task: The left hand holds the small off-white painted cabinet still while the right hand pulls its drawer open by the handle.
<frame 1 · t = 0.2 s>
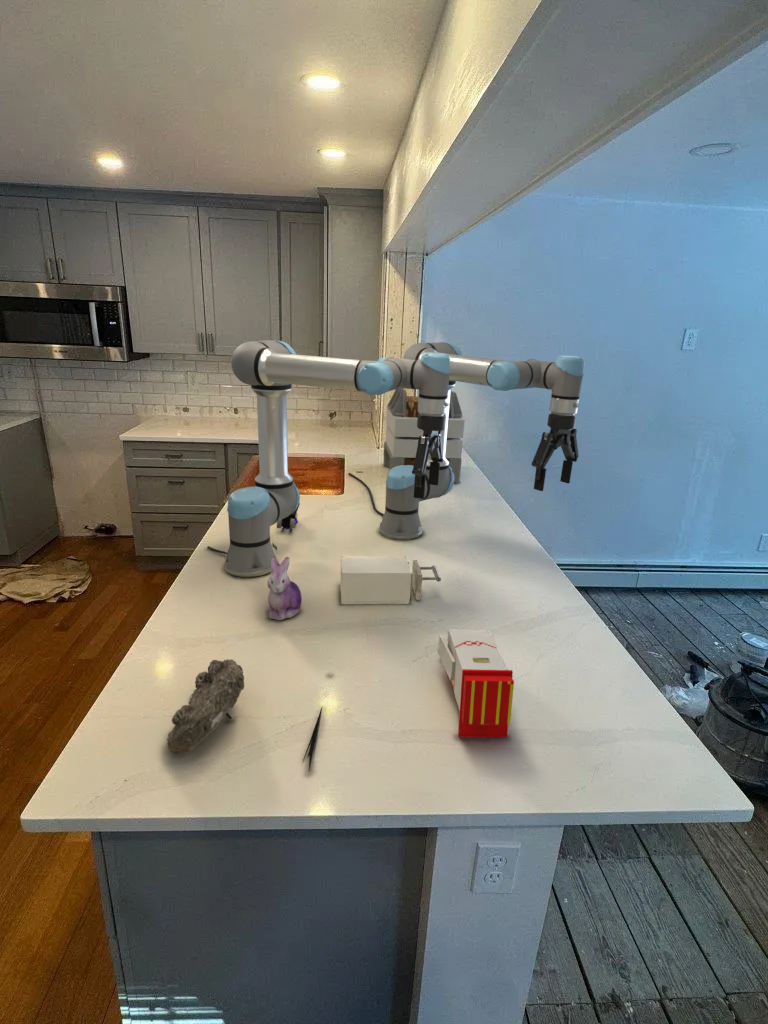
left hand: (426, 491, 156), 28 cm above the counter, tool pointing down, fingers open, 13 cm apart
right hand: (551, 486, 166), 28 cm above the counter, tool pointing down, fingers open, 13 cm apart
fossil: (212, 717, 108), on the counter
figurine: (284, 612, 146), on the counter
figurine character: (288, 527, 201), on the counter
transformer: (419, 473, 275), on the counter
cabinet: (374, 594, 157), on the counter
toy: (469, 691, 119), on the counter
feather: (319, 719, 109), on the counter
drawer: (397, 579, 156), point 5 cm above the counter, slide at 1.9 cm
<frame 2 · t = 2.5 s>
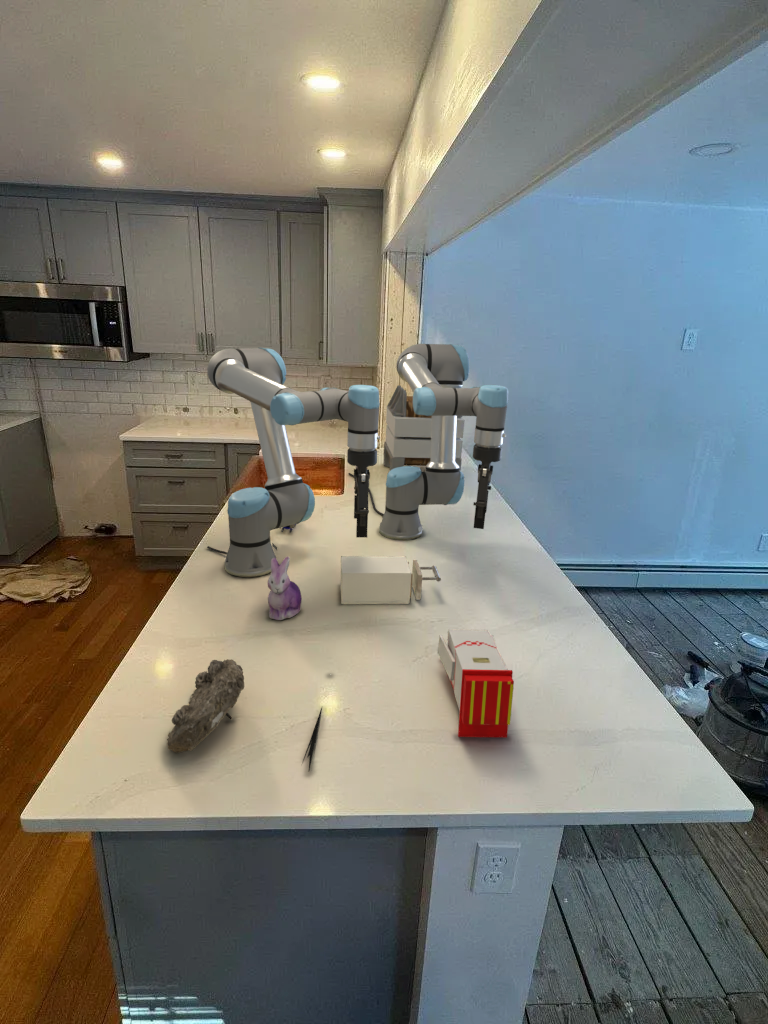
left hand: (360, 527, 150), 20 cm above the counter, tool pointing down, fingers open, 13 cm apart
right hand: (480, 519, 158), 20 cm above the counter, tool pointing down, fingers open, 13 cm apart
nothing on the counter moved.
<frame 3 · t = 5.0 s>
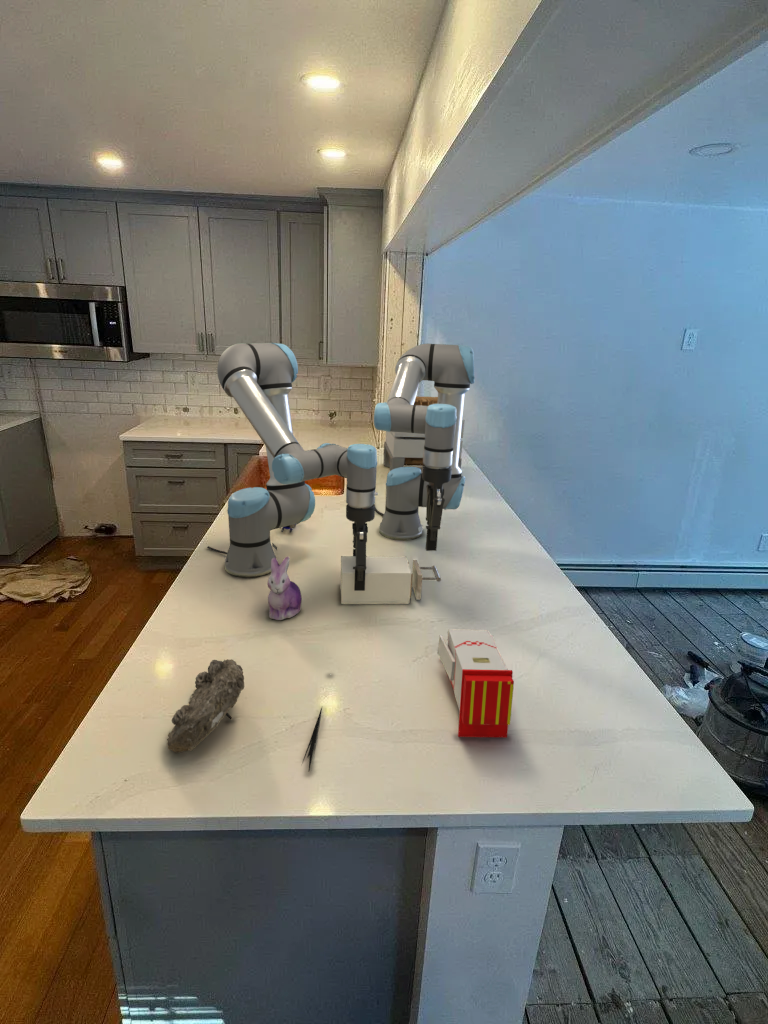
left hand: (358, 580, 155), 4 cm above the counter, tool pointing down, fingers closed on cabinet, 11 cm apart
right hand: (430, 549, 154), 14 cm above the counter, tool pointing down, fingers closed
cabinet: (374, 594, 157), on the counter, touching left hand
everything else where it was.
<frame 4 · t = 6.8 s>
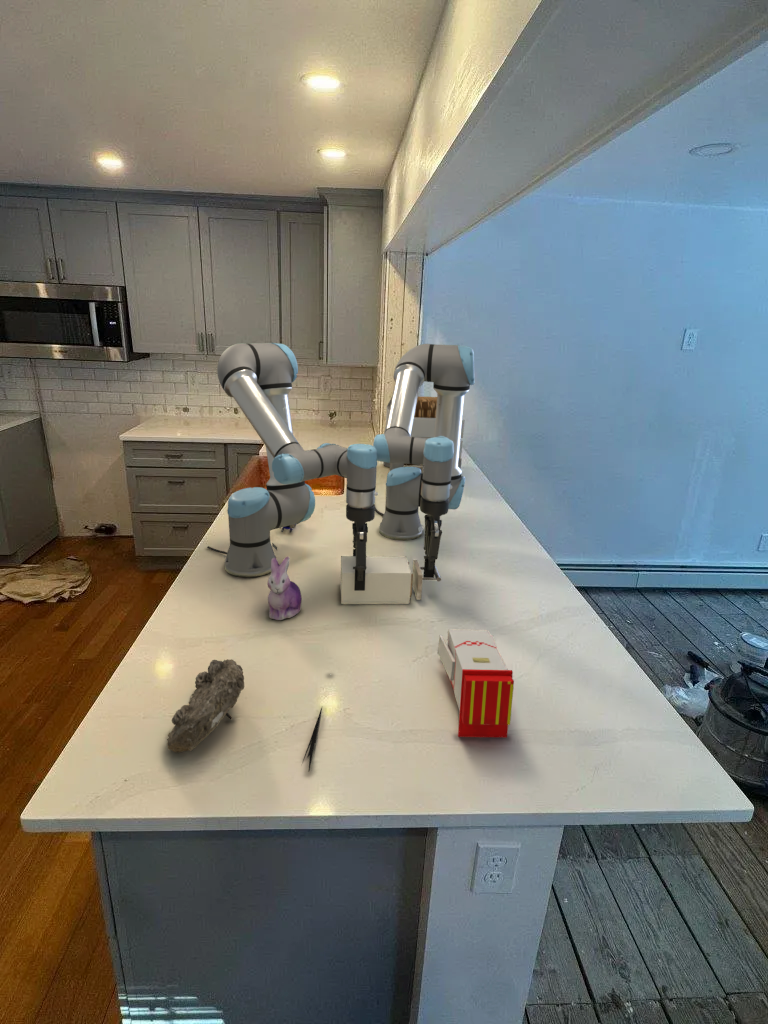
left hand: (358, 580, 155), 4 cm above the counter, tool pointing down, fingers closed on cabinet, 11 cm apart
right hand: (428, 578, 157), 5 cm above the counter, tool pointing down, fingers closed
cabinet: (373, 594, 157), on the counter, touching left hand
drawer: (397, 579, 156), point 5 cm above the counter, slide at 2.0 cm, touching right hand
everything else where it was.
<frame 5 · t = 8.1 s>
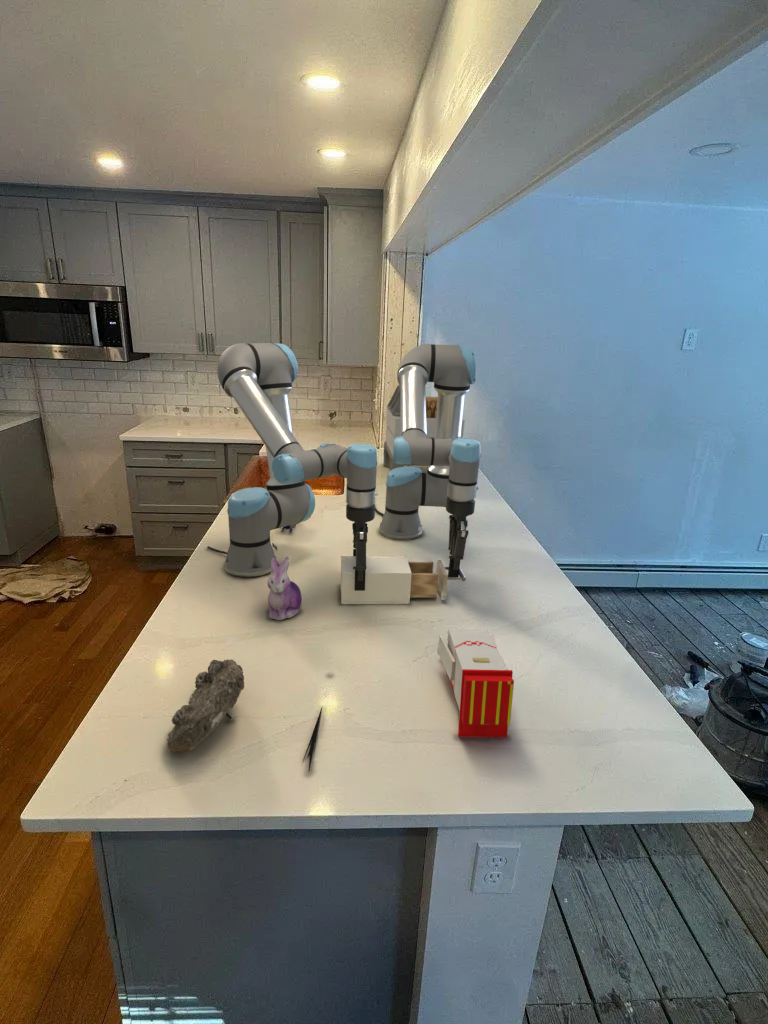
left hand: (358, 580, 155), 4 cm above the counter, tool pointing down, fingers closed on cabinet, 11 cm apart
right hand: (453, 578, 157), 5 cm above the counter, tool pointing down, fingers closed
cabinet: (374, 594, 157), on the counter, touching left hand
drawer: (422, 579, 157), point 5 cm above the counter, slide at 8.8 cm, touching right hand
everything else where it was.
when the left hand's fingers open (4 cm above the counter, at t = 9.9 s): cabinet stays where it is, on the counter.
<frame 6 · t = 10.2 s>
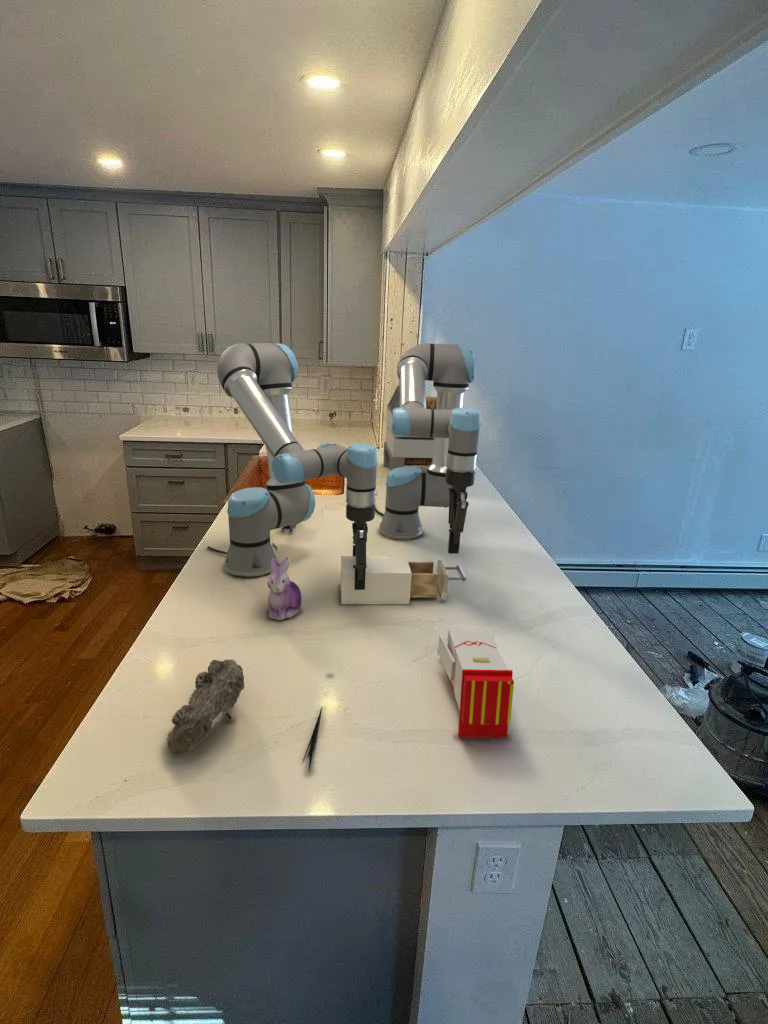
left hand: (358, 577, 155), 5 cm above the counter, tool pointing down, fingers open, 13 cm apart
right hand: (453, 552, 155), 13 cm above the counter, tool pointing down, fingers closed
cabinet: (374, 594, 157), on the counter
drawer: (422, 579, 157), point 5 cm above the counter, slide at 8.9 cm
everything else where it was.
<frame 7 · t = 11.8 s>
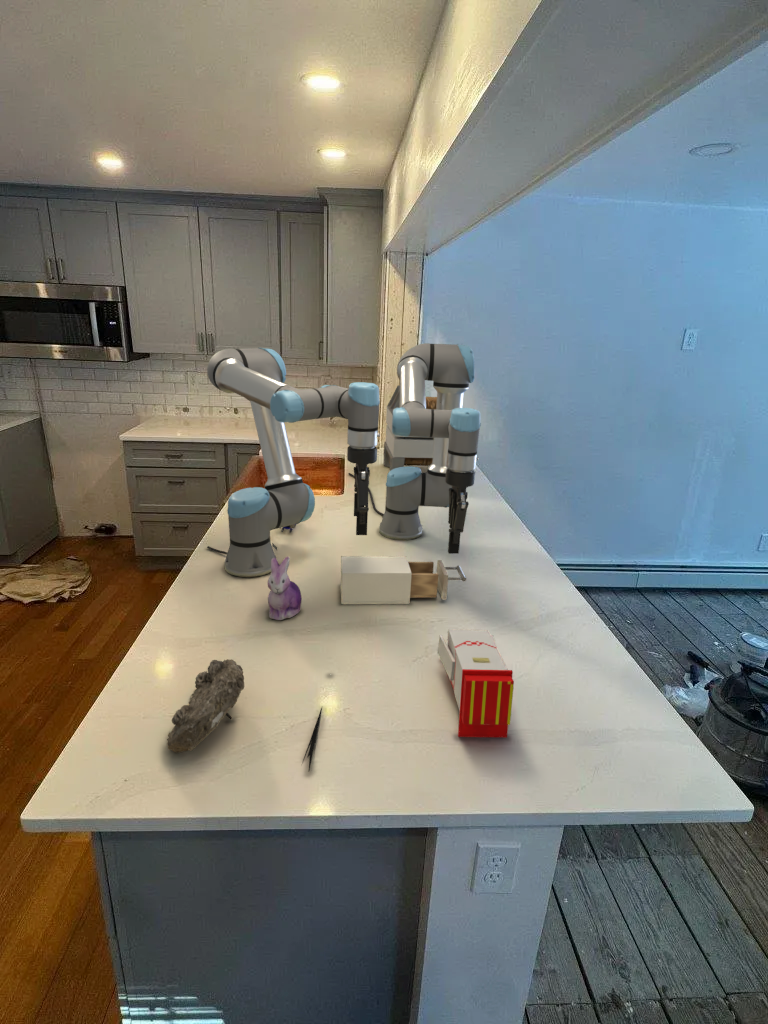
left hand: (360, 525, 149), 21 cm above the counter, tool pointing down, fingers open, 13 cm apart
right hand: (453, 552, 155), 13 cm above the counter, tool pointing down, fingers closed
nothing on the counter moved.
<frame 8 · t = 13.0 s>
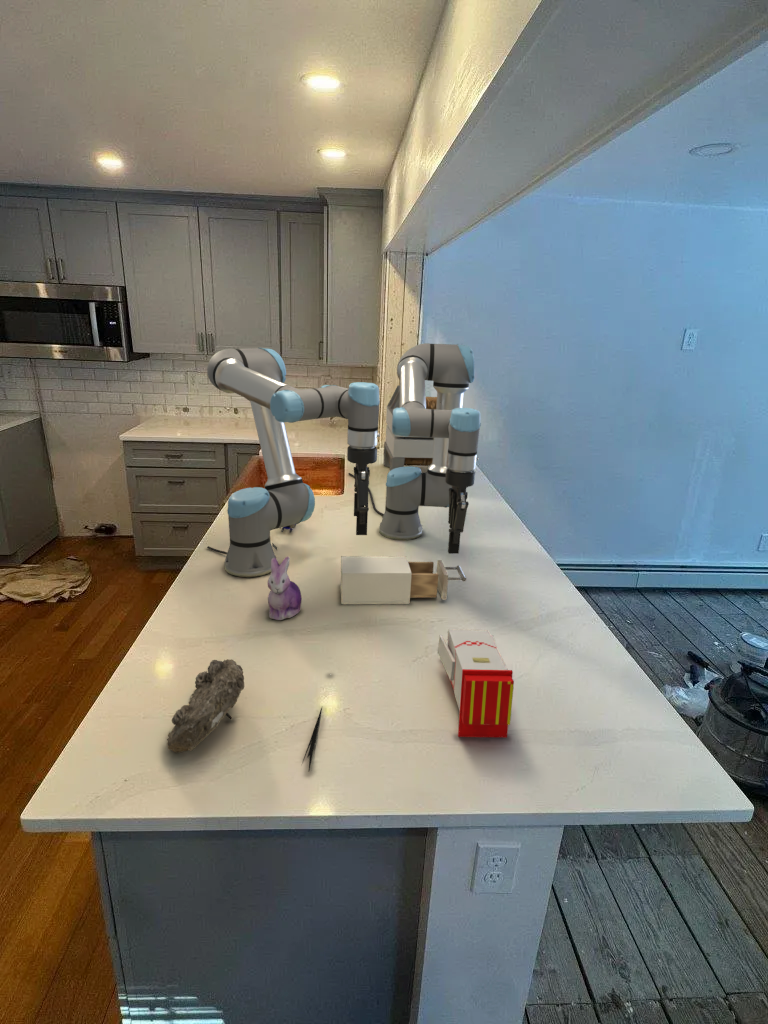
left hand: (360, 524, 149), 21 cm above the counter, tool pointing down, fingers open, 13 cm apart
right hand: (453, 552, 155), 13 cm above the counter, tool pointing down, fingers closed
nothing on the counter moved.
at the end: drawer slide at 8.9 cm; cabinet tilted 0°; cabinet never tilted more than 1° during the clip; cabinet moved 0.1 cm from its start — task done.
